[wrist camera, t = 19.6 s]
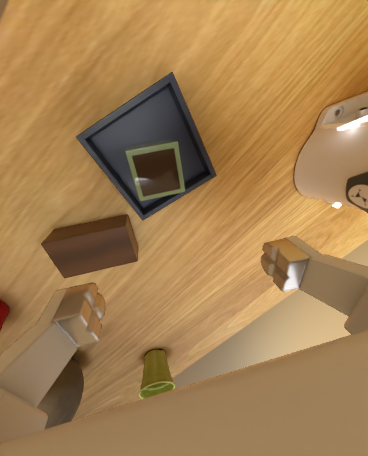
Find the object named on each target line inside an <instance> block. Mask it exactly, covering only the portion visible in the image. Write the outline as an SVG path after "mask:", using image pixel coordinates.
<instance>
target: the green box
mask: <svg viewBox="0 0 368 456" xmlns="http://www.w3.org/2000/svg"><path fill="white" fill-rule="evenodd" d="M125 153H126V156H127V159H128V163H129V166H130V169H131V173H132V176H133V180H134V183H135V186H136V190H137V193H138V196H139V200H140V201H144V200H149V199H153V198H158V197H163V196H167V195H172V194H177V193H181V192H185V186H184V179H183V173H182V166H181V159H180V153H179V146H178V142H177V141H174V140H171V139H167V138H165V139H159V140H154V141H148V142H143V143H137V144H132V145H130V146H129V148H128V149H127V150H126V151H125Z"/></svg>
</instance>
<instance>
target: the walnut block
mask: <svg viewBox="0 0 368 456" xmlns="http://www.w3.org/2000/svg"><path fill="white" fill-rule="evenodd" d="M41 245H42V246H43V248H44V249H45V251H46V252H47V254H48V255H49V257H50V258H51V260H52V261H53V262H54V264H55V265H56V267H57V268H58V270H59V271H60V273H61V274H62V276H63V277H64V278H68V277H72V276H76V275H81V274H85V273H89V272H93V271H98V270H102V269H106V268H110V267H115V266H119V265H123V264H127V263H132V262H136V261H138V245H137V242H136V238H135V235H134V232H133V229H132V226H131V223H130V220H129V217H128V215H123V216H118V217H113V218H109V219H104V220H99V221H94V222H89V223H84V224H79V225H74V226H69V227H65V228H60V229H55V230H53V231H52V232H51V233H50V234H49V236H48V237H47V238H46V239H45V240H44V241H43V242H42V243H41Z"/></svg>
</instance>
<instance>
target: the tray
mask: <svg viewBox="0 0 368 456" xmlns="http://www.w3.org/2000/svg"><path fill="white" fill-rule="evenodd" d="M76 138H77V139H78V140H79V142H80V143H81V144H82V145H83V147H84V148H85V149H86V150H87V152H88V153H89V154H90V155H91V157H92V158H93V159H94V160H95V162H96V163H97V164H98V165H99V167H100V168H101V169H102V170H103V172H104V173H105V174H106V175H107V177H108V178H109V179H110V180H111V182H112V183H113V184H114V185H115V187H116V188H117V189H118V190H119V192H120V193H121V194H122V195H123V197H124V198H125V199H126V200H127V202H128V203H129V204H130V205H131V207H132V208H133V209H134V210H135V212H136V213H137V214H138V215H139V217H140V218H141V219H142V220H144V219H146V218H148V217H149V216H151V215H153V214H154V213H156V212H157V211H159V210H161V209H162V208H164V207H166V206H167V205H169V204H171V203H172V202H174V201H176V200H177V199H179V198H181V197H182V196H184V195H186V194H187V193H189V192H191V191H192V190H194V189H196V188H197V187H199V186H200V185H202V184H204V183H205V182H207V181H209V180H210V179H212V178H214V177H216V176H217V175H216V173H215V170H214V168H213V166H212V163H211V161H210V159H209V156H208V154H207V152H206V149H205V147H204V145H203V142H202V140H201V138H200V135H199V133H198V131H197V128H196V126H195V124H194V121H193V119H192V117H191V114H190V112H189V110H188V107H187V105H186V103H185V100H184V98H183V96H182V93H181V91H180V89H179V86H178V84H177V81H176V79H175V77H174V74H173V72H171V73H169V74H168V75H167V76H165V77H164V78H162V79H161V80H159V81H158V82H156V83H155V84H153V85H152V86H150V87H149V88H147V89H146V90H144V91H143V92H141V93H140V94H138V95H137V96H135V97H134V98H132V99H131V100H129V101H128V102H127V103H125V104H124V105H122V106H121V107H119V108H118V109H116V110H115V111H113V112H112V113H110V114H109V115H107V116H106V117H104V118H103V119H101V120H100V121H98V122H97V123H95V124H94V125H92V126H91V127H89V128H88V129H87V130H85V131H84V132H82V133H81V134H79V135H78V136H76ZM165 138H167V139H171V140H174V141H177V142H178V146H179V153H180V159H181V166H182V173H183V179H184V186H185V192H181V193H177V194H172V195H167V196H163V197H158V198H153V199H149V200H144V201H140V200H139V196H138V193H137V190H136V186H135V183H134V180H133V176H132V173H131V169H130V166H129V163H128V159H127V156H126V153H125V151H126V150H127V149H128V148H129V146H130V145H132V144H137V143H143V142H148V141H154V140H159V139H165Z"/></svg>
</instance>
